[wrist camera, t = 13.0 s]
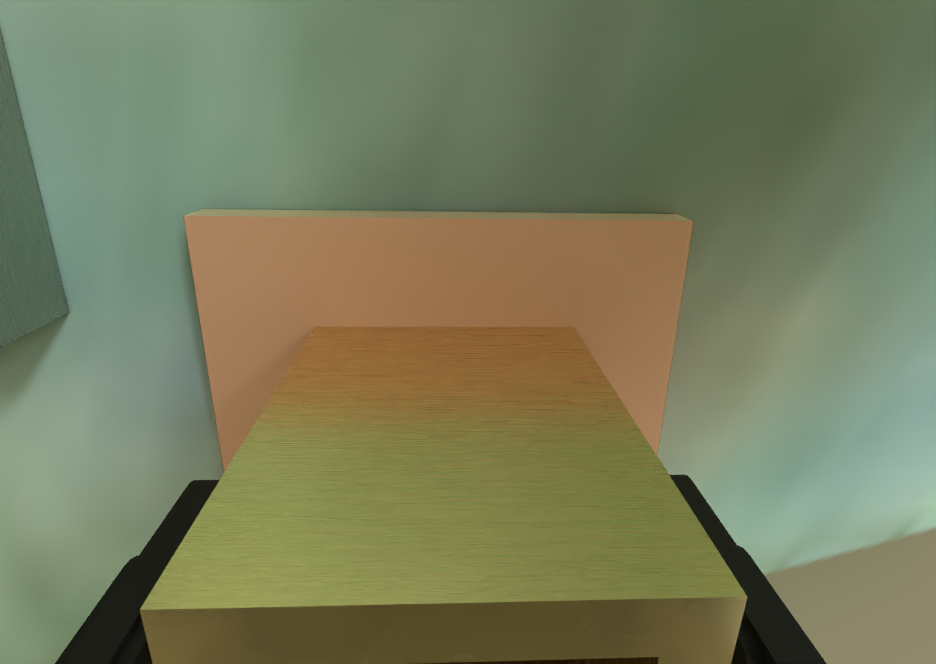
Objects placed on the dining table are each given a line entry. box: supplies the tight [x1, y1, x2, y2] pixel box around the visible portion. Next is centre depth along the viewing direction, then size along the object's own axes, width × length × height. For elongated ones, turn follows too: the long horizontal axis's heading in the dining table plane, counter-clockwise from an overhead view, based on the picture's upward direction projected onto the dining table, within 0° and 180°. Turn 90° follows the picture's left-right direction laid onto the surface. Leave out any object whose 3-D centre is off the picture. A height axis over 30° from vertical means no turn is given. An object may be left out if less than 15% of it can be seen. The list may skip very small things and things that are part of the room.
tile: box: [184, 209, 694, 472], centre depth 15 cm, size 11×11×1 cm
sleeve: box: [140, 327, 747, 664], centre depth 10 cm, size 6×6×8 cm
